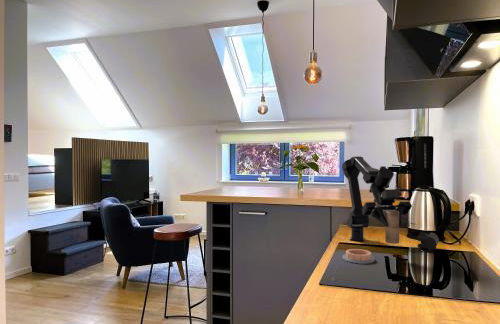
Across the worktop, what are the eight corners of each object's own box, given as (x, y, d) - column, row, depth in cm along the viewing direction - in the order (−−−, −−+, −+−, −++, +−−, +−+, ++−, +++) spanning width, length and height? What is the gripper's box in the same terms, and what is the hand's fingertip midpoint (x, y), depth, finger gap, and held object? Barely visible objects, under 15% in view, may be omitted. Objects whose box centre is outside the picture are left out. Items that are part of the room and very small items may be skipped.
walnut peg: (386, 240, 140) (386, 210, 139) (399, 241, 137) (399, 210, 137) (384, 242, 135) (384, 211, 135) (398, 244, 133) (398, 212, 133)
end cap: (436, 253, 145) (436, 237, 145) (417, 251, 149) (417, 235, 149) (438, 248, 153) (438, 232, 153) (421, 246, 157) (421, 231, 157)
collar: (344, 253, 145) (344, 247, 145) (375, 256, 141) (375, 249, 141) (340, 261, 134) (340, 254, 134) (373, 265, 130) (373, 257, 130)
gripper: (364, 181, 139) (377, 214, 128) (409, 181, 141) (425, 213, 130) (356, 199, 147) (368, 231, 136) (399, 198, 149) (413, 229, 138)
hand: (394, 226), depth 135 cm, fingers closed on walnut peg, 5 cm apart
